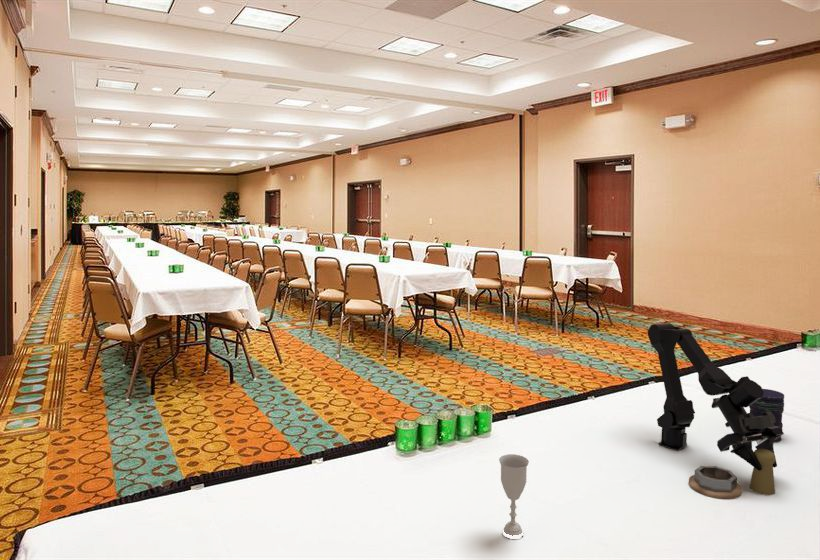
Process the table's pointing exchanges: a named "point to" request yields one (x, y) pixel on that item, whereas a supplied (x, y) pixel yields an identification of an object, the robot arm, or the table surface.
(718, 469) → the coupling socket
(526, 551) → the table surface
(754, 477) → the cork
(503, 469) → the chalice
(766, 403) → the storage jar
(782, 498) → the table surface
